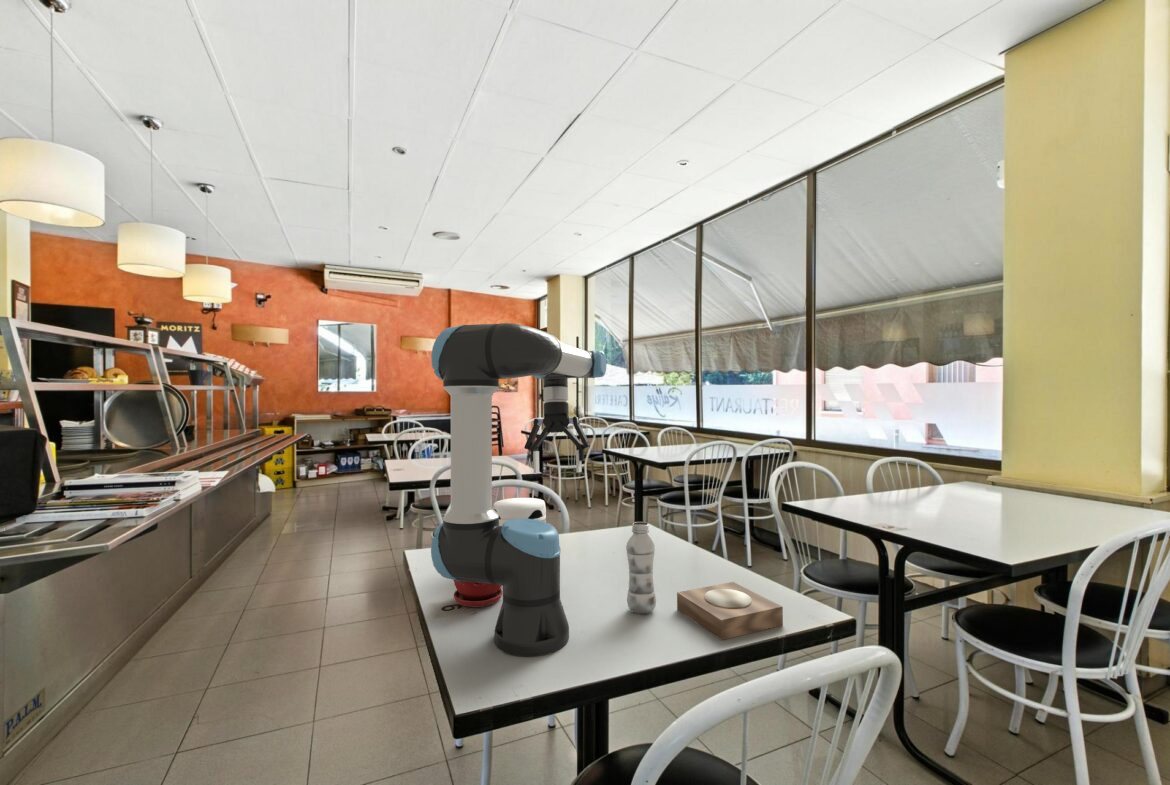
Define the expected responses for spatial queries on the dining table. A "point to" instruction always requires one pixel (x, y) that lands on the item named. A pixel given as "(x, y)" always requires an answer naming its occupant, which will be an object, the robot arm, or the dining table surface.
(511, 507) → the milk container
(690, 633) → the dining table surface
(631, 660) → the dining table surface
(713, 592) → the walnut plinth
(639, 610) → the plastic bottle
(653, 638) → the dining table surface
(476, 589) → the plant pot
